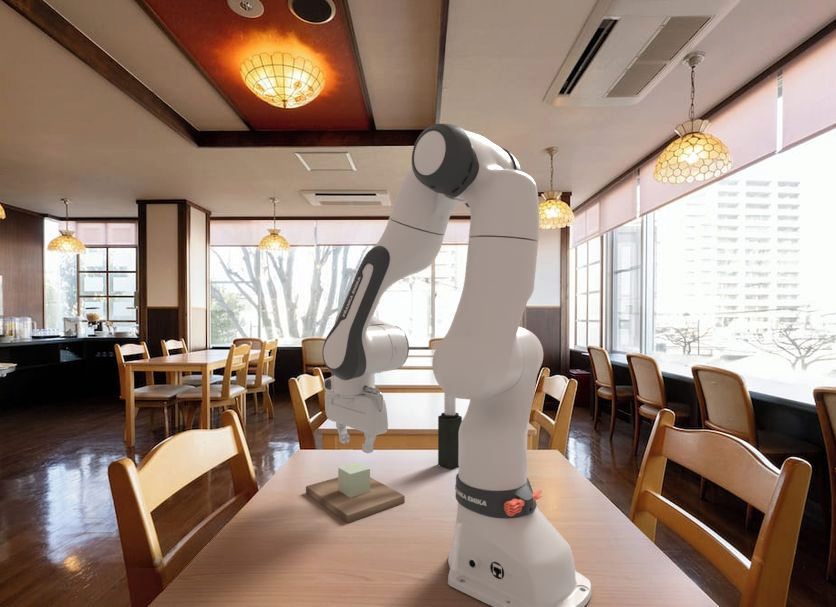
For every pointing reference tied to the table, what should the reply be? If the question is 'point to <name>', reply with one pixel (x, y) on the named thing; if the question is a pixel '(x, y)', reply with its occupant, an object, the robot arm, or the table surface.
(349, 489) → the cube
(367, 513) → the serving board
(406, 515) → the table surface
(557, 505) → the table surface
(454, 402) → the black and grey rod
